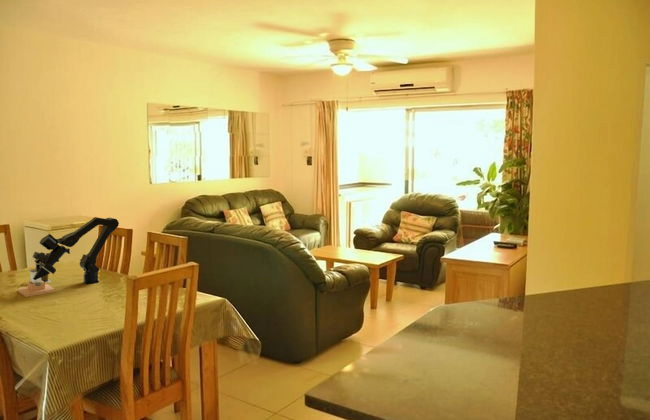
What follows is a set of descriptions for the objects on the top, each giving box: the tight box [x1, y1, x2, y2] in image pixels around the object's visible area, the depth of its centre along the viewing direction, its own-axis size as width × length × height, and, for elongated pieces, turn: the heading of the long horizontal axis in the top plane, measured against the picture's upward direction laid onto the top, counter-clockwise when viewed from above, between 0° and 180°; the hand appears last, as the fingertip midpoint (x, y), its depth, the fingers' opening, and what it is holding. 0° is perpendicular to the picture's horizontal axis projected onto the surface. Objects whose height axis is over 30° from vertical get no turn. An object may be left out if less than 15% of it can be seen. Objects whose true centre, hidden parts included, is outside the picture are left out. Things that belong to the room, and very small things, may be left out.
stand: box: [17, 280, 56, 298], centre depth 263 cm, size 14×14×5 cm
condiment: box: [35, 262, 52, 284], centre depth 282 cm, size 7×8×12 cm
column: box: [29, 268, 42, 284], centre depth 263 cm, size 5×4×10 cm
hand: (32, 278), depth 262 cm, fingers closed on column, 4 cm apart
